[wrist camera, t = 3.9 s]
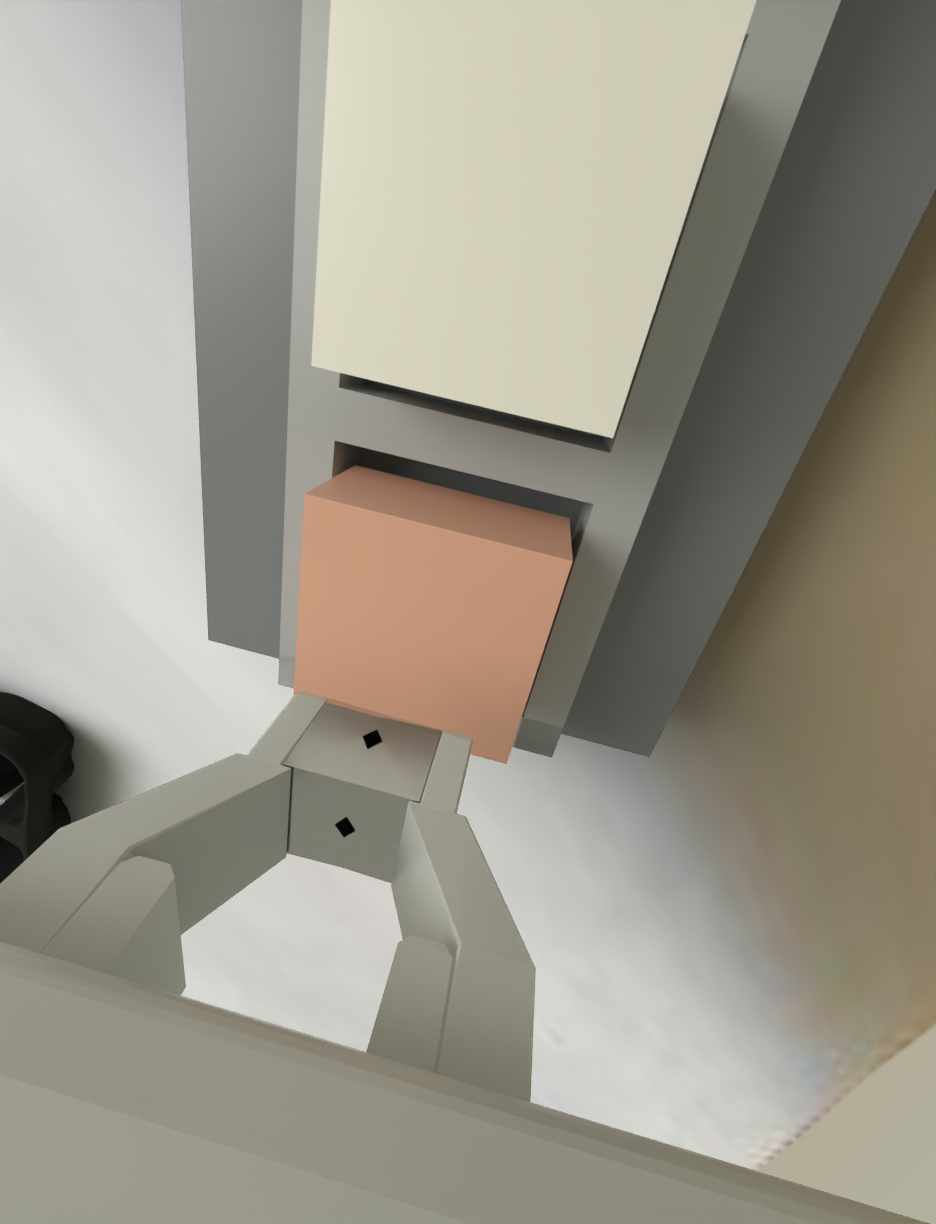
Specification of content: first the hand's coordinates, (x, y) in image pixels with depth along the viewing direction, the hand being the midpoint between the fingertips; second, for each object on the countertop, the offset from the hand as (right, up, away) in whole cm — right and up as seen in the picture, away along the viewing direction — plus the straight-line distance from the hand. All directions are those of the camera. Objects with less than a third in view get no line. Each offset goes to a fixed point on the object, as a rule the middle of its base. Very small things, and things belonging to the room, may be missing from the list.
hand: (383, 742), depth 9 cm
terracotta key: (+1, +3, +6) cm, 6 cm away
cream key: (+2, +10, +2) cm, 10 cm away
